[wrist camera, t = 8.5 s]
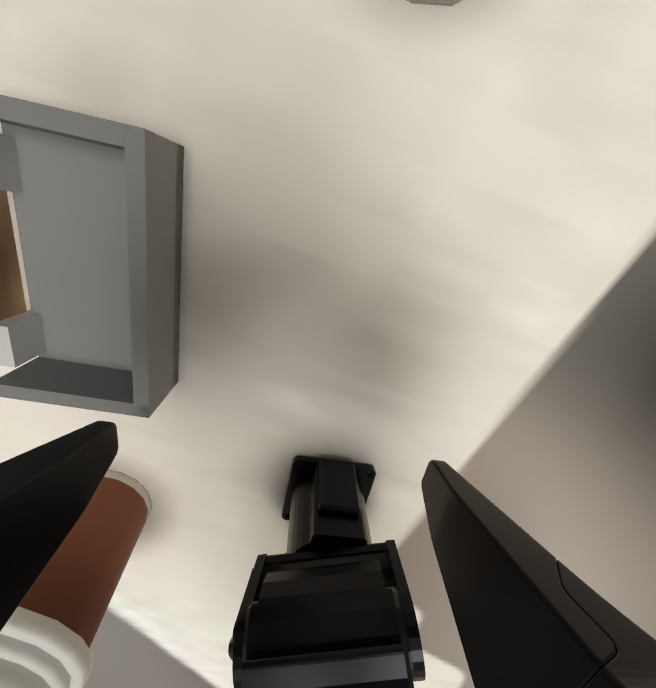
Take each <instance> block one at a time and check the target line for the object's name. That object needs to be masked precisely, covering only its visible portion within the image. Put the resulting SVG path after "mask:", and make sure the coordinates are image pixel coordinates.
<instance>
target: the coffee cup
mask: <svg viewBox="0 0 656 688" xmlns="http://www.w3.org/2000/svg"><path fill="white" fill-rule="evenodd" d="M151 505H152V502H151V499H150V497H149V494H148V491H147V490H146V489H145V488H144V487H143V486H142V485H141V484H140V483H139V482H138V481H136V480H134V479H133V478H131V477H129V476H127V475H125V474H123V473H119V472H115V471H110V470H108V471H107V472H106V474H105V476H104V478H103V479H102V481H101V483H100V485H99V487H98V488H97V490H96V492H95V494H94V496H93V497H92V499H91V501H90V503H89V504H88V506H87V508H86V509H85V511H84V512H83V514H82V515H81V517H80V518H79V520H78V521H77V522H76V524H75V525H74V527H73V528H72V530H71V531H70V533H69V534H68V535H67V537H66V538H65V540H64V541H63V543H62V544H61V545H60V547H59V548H58V550H57V551H56V553H55V554H54V556H53V557H52V558H51V560H50V561H49V563H48V564H47V566H46V567H45V568H44V570H43V571H42V573H41V574H40V576H39V577H38V579H37V580H36V581H35V583H34V584H33V586H32V587H31V589H30V590H29V591H28V593H27V594H26V596H25V597H24V599H23V600H22V601H21V603H20V604H19V606H18V607H17V609H16V610H15V612H14V613H13V614H12V616H11V617H10V619H9V620H8V622H7V623H6V624H5V626H4V627H3V629H2V630H1V632H0V688H83V687H84V686H85V684H86V682H87V679H88V677H89V675H90V673H91V670H92V663H93V654H92V652H91V651H90V649H89V648H90V645H91V643H92V641H93V639H94V636H95V634H96V632H97V629H98V627H99V625H100V623H101V620H102V618H103V616H104V614H105V612H106V609H107V607H108V605H109V603H110V600H111V598H112V596H113V594H114V591H115V589H116V587H117V585H118V582H119V580H120V578H121V576H122V573H123V571H124V569H125V567H126V564H127V562H128V560H129V558H130V555H131V553H132V551H133V549H134V546H135V544H136V542H137V540H138V537H139V535H140V533H141V531H142V528H143V526H144V524H145V522H146V519H147V518H148V516H149V514H150V510H151Z"/></svg>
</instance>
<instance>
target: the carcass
mask: <svg viewBox="0 0 656 688" xmlns="http://www.w3.org/2000/svg"><path fill="white" fill-rule="evenodd" d="M0 122H1V124H2V131H3V134H0V190H3V191H12V193H13V199H14V205H15V211H16V217H17V223H18V230H19V236H20V242H21V248H22V254H23V261H24V267H25V273H26V279H27V285H28V292H29V298H30V304H31V310H29V311H27V312H24V313H21V314H18V315H15V316H13V317H10V318H7V319H4V320H1V321H0V365H3V366H9V367H17V366H19V365H21V364H23V363H25V362H27V361H28V360H30V359H32V358H34V357H36V356H38V355H39V357H38V358H36V359H34V360H32V361H30V362H28V363H26V364H25V365H23V366H21V367H19V368H17V369H15V370H13V371H11V372H10V373H8V374H6V375H4V376H2V377H0V397H5V398H12V399H19V400H26V401H34V402H41V403H48V404H55V405H62V406H69V407H76V408H83V409H90V410H97V411H104V412H111V413H118V414H125V415H133V416H140V417H147V418H149V417H150V416H151V415H152V413H153V412H154V411H155V410H156V408H157V407H158V406H159V405H160V403H161V402H162V401H163V400H164V398H165V397H166V396H167V395H168V393H169V392H170V391H171V390H172V388H173V387H174V386H175V385H176V383H177V382H178V344H179V305H180V266H181V227H182V188H183V149H184V147H183V146H181V145H179V144H176V143H174V142H172V141H170V140H168V139H166V138H163V137H161V136H159V135H157V134H155V133H153V132H150V131H148V130H146V129H143V128H139V127H135V126H131V125H126V124H122V123H118V122H114V121H109V120H105V119H101V118H97V117H93V116H88V115H84V114H80V113H76V112H71V111H67V110H63V109H59V108H55V107H50V106H46V105H42V104H38V103H33V102H29V101H25V100H21V99H17V98H12V97H8V96H4V95H0Z"/></svg>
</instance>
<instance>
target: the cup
mask: <svg viewBox="0 0 656 688" xmlns="http://www.w3.org/2000/svg"><path fill="white" fill-rule="evenodd" d="M407 1H409V2H410V3H418V4H431V5H445V6H452V5H454V4H456V3H458V2H460V1H461V0H407Z"/></svg>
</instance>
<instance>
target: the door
mask: <svg viewBox="0 0 656 688" xmlns="http://www.w3.org/2000/svg"><path fill="white" fill-rule="evenodd" d="M24 312H27V311H26V305H25V299H24V293H23V287H22V281H21V275H20V269H19V263H18V257H17V251H16V245H15V239H14V233H13V227H12V221H11V215H10V209H9V204H8V198H7V192H6V191H3V190H0V321H1V320H4V319H7V318H10V317H13V316H15V315H18V314H21V313H24Z"/></svg>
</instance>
